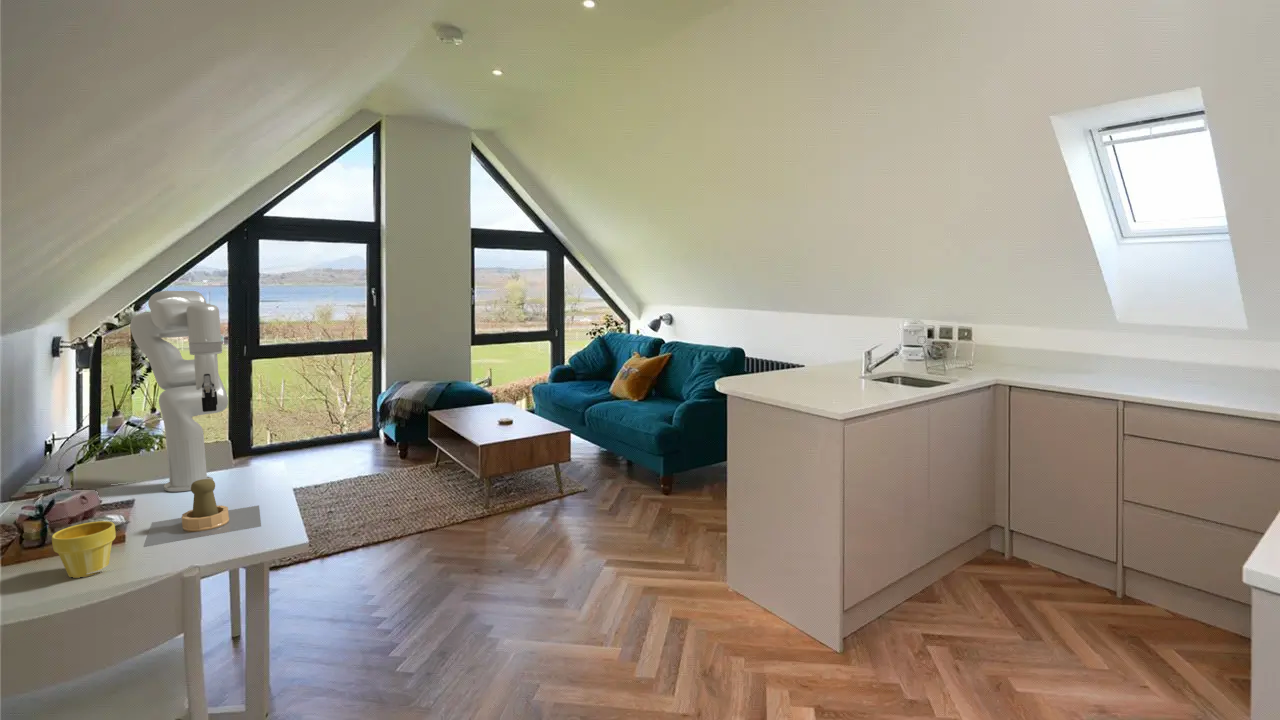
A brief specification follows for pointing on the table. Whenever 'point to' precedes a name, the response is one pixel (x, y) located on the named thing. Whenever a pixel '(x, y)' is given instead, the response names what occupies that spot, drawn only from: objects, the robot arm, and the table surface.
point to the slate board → (174, 531)
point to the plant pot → (84, 547)
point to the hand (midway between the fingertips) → (210, 408)
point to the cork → (203, 498)
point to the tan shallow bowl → (205, 520)
